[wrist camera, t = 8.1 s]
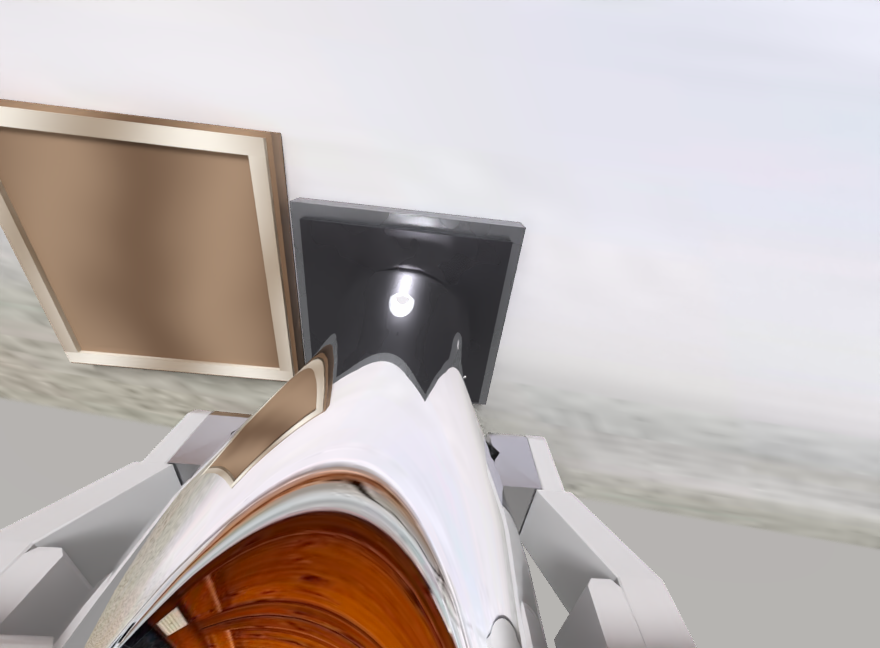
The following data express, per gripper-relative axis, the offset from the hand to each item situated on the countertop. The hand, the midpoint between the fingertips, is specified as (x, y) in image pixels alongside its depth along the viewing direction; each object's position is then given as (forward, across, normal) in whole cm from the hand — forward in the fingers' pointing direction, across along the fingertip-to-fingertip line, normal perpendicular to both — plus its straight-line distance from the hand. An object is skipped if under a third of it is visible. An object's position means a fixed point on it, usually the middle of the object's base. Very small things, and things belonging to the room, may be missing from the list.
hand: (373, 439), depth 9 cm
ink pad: (+8, 0, 0) cm, 8 cm away
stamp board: (+8, +10, -2) cm, 13 cm away
